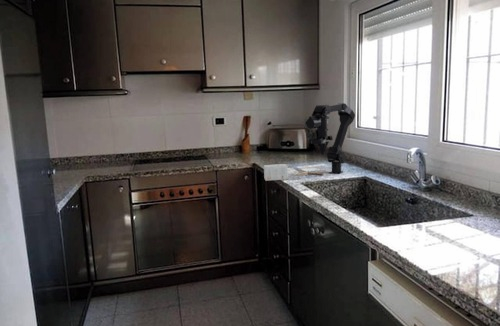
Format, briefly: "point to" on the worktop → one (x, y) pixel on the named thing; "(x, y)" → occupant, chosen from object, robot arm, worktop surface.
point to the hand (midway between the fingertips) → (322, 154)
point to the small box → (275, 172)
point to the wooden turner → (308, 173)
